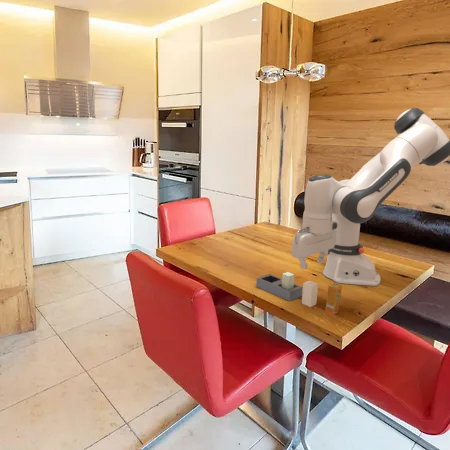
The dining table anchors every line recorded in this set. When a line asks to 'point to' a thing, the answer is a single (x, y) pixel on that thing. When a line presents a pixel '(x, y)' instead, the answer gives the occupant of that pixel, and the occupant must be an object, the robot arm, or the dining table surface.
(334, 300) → the supplement box
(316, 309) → the dining table surface
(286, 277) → the beige peg
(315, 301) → the block
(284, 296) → the grey peg holder
